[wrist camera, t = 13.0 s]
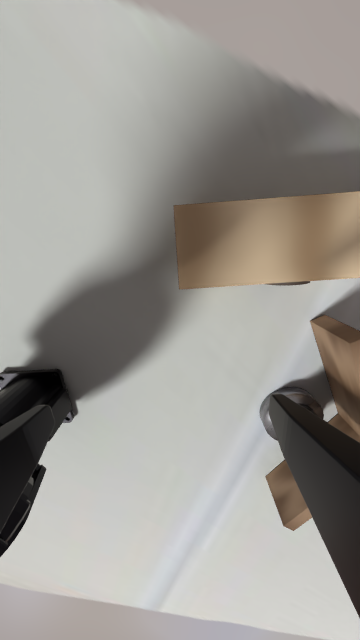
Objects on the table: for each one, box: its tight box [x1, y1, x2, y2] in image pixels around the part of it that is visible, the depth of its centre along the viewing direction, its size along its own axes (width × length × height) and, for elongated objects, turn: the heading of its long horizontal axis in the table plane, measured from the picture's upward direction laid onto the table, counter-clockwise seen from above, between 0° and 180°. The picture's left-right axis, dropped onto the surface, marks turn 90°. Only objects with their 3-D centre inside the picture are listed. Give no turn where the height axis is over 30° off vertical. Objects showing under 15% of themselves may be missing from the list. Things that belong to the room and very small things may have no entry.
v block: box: [266, 315, 360, 531], centre depth 21 cm, size 8×22×5 cm, turn 176°
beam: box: [174, 191, 360, 289], centre depth 16 cm, size 16×5×5 cm, turn 94°
